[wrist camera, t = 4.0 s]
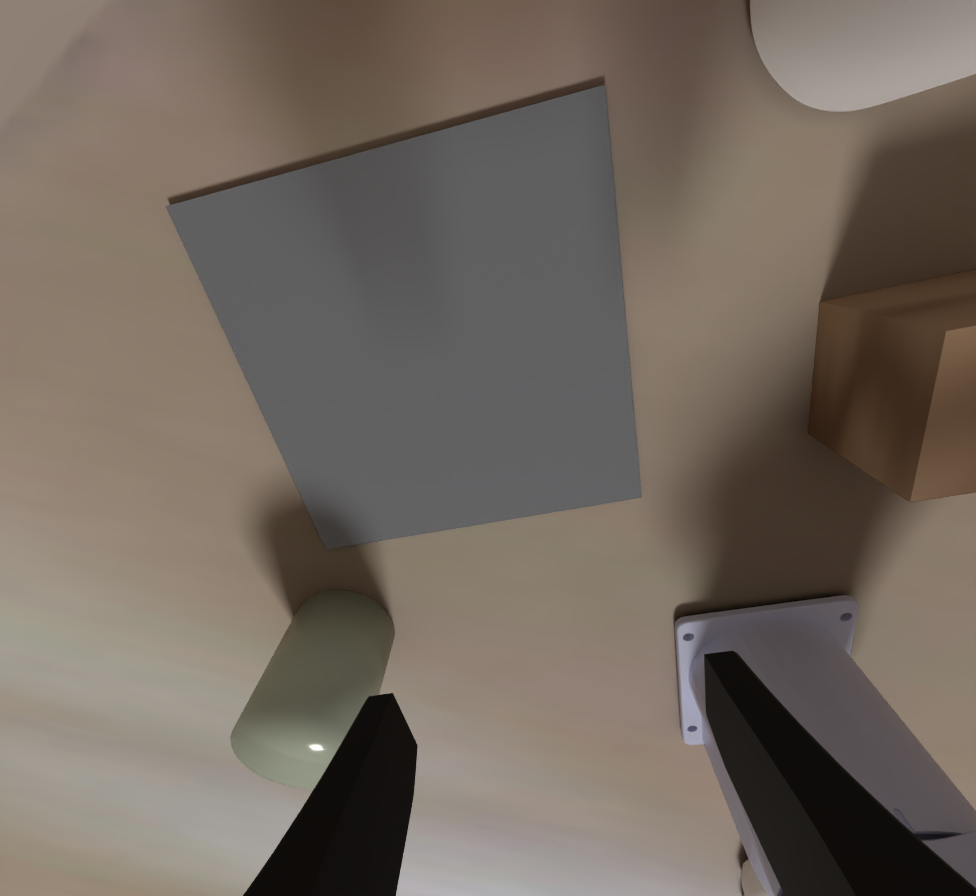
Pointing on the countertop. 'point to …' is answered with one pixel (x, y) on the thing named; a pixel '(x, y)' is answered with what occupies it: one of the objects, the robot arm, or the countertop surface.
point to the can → (863, 48)
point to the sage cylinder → (314, 687)
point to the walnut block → (901, 384)
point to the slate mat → (434, 322)
